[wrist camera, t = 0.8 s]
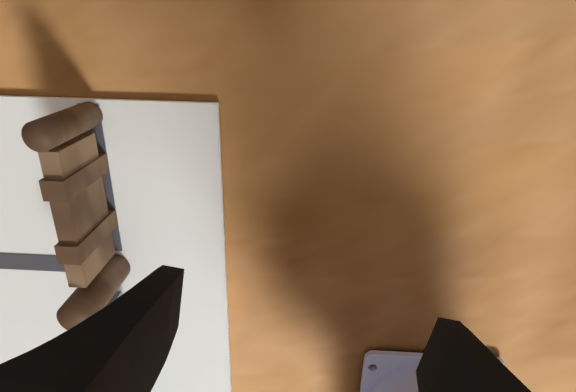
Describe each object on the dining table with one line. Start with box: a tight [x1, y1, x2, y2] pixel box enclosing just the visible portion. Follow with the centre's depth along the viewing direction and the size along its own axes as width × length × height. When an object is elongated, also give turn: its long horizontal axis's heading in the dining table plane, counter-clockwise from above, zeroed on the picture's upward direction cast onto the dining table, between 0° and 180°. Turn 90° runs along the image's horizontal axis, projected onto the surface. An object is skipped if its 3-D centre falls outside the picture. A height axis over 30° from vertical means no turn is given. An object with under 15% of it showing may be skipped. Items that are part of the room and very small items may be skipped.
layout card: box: [0, 95, 232, 392], centre depth 23 cm, size 21×16×1 cm
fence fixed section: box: [21, 101, 131, 330], centre depth 19 cm, size 10×2×4 cm, turn 179°
